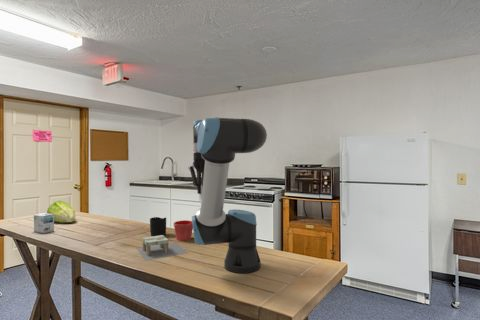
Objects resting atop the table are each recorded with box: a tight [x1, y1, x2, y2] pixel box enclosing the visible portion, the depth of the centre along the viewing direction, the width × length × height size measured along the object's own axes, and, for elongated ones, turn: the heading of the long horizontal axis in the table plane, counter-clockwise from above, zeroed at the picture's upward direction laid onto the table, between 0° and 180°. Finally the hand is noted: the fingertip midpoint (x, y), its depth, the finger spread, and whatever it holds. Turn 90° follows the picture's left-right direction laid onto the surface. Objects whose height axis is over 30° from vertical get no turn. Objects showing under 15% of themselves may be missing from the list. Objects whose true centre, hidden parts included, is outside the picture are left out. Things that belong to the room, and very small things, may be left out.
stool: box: [142, 235, 169, 256], centre depth 143 cm, size 10×6×10 cm
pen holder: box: [149, 216, 167, 237], centre depth 175 cm, size 9×9×10 cm
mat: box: [136, 242, 189, 261], centre depth 144 cm, size 20×20×1 cm
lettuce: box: [46, 200, 76, 224], centre depth 213 cm, size 15×24×16 cm
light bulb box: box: [33, 212, 55, 234], centre depth 185 cm, size 11×7×11 cm, turn 63°
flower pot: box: [173, 219, 193, 242], centre depth 165 cm, size 11×11×10 cm
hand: (201, 200), depth 144 cm, fingers closed
